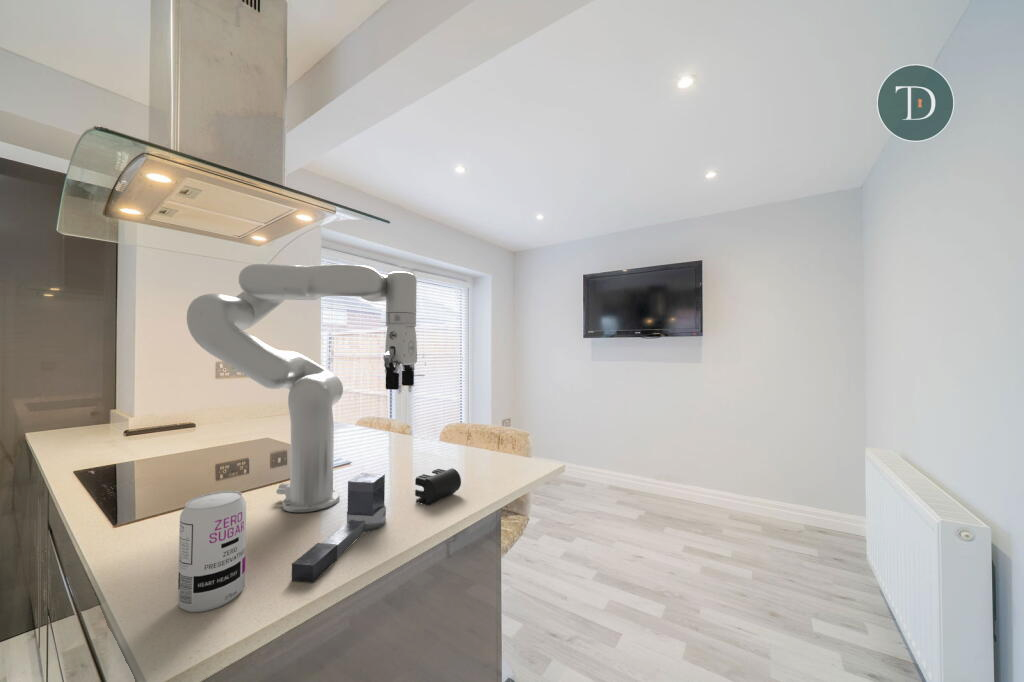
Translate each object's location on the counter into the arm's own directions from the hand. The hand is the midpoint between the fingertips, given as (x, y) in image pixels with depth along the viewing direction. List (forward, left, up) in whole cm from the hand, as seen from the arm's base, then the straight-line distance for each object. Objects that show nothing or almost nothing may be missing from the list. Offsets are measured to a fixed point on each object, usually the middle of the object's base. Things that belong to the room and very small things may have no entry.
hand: (400, 387), depth 101 cm
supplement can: (-12, -42, -28) cm, 52 cm away
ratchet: (-1, -24, -28) cm, 37 cm away
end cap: (+10, +1, -29) cm, 30 cm away
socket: (-1, -15, -25) cm, 29 cm away
